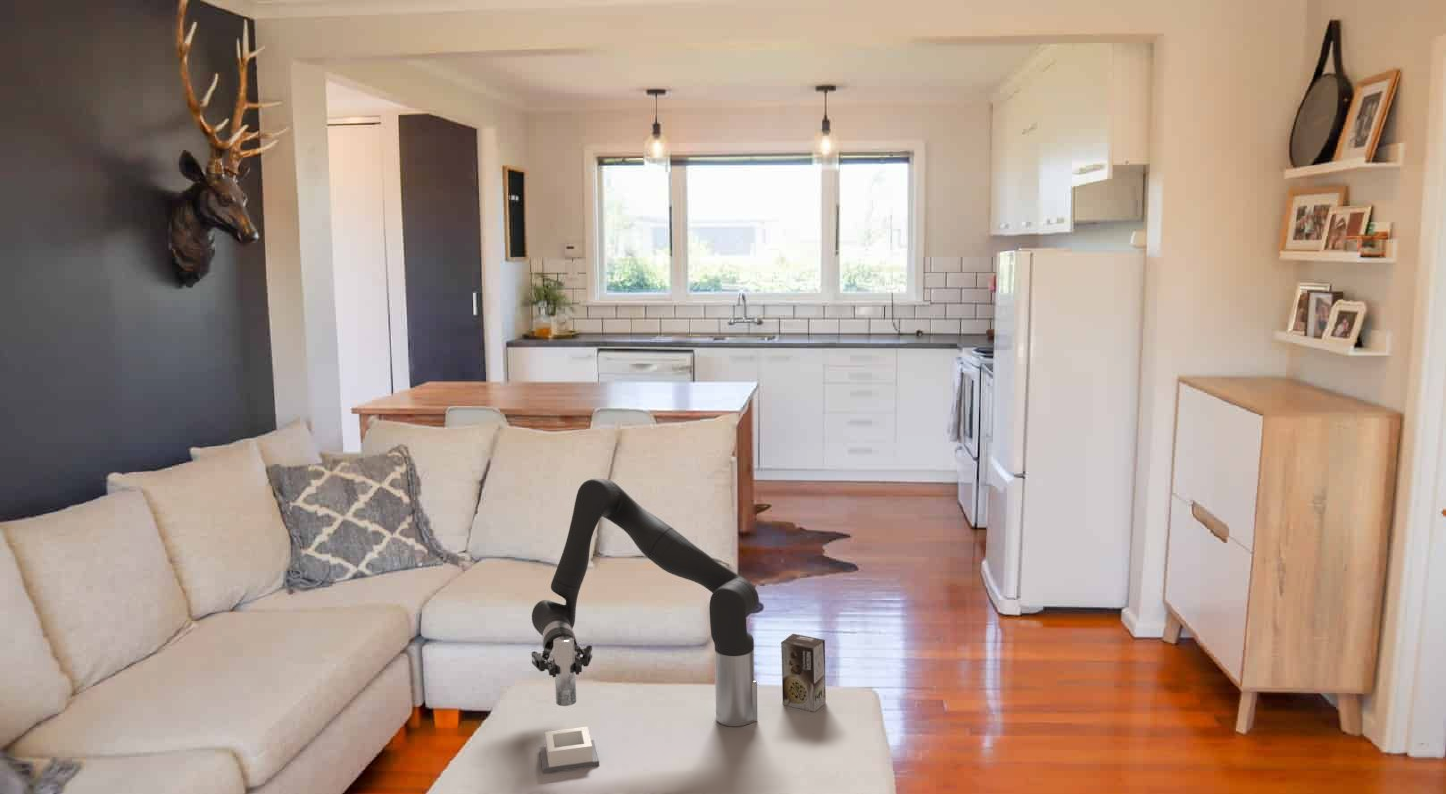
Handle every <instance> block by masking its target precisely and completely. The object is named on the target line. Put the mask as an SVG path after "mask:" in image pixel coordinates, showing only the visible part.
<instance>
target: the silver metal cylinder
mask: <svg viewBox="0 0 1446 794" xmlns="http://www.w3.org/2000/svg"><path fill="white" fill-rule="evenodd" d="M553 644H554V663H555V668H556V677H554V684H555V686H554V687H555V689H554V690H555V703H556V705H558V706H561V707H568V706H572V705H574V704H576V702H577V686H576V685H577V682H576V673H575V653H574V639H573V638H572V637H567V636H565V637H558V638H556V639H554V641H553Z"/></svg>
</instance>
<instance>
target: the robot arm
mask: <svg viewBox="0 0 1446 794" xmlns="http://www.w3.org/2000/svg"><path fill="white" fill-rule="evenodd" d="M601 517H602V518H605V519H606V520H608V521H610V522H612V523H613V524H614V525H616V526H617V527H619V528H620V529H622V530H623V531H625V533H626V534H627V536H629V538H631V540H632V541H633V543H634V544H635V546H636V547H637V549H639V551H640V552H641V553H642V554H643V555H644V556H645V557H646V558H647V559H648V560H650V562H651V561H652V563H654V564H655V565H657V566H658V567H659V568H660V569H662V570H663V571H665V572H666V573H669V574H671V575H673V576H676V577H679V578H681V579H685V580H688V581H691V582H694V583H696V584H699V585H701V586H702V587H704V588H705V589H707V591H709V592H711V593H712V594H711V596H710V598H709V624H710V634H711V635H710V636H711V639H712V641H713V645H714V671H715V672H714V673H715V674H714V675H715V679H714V681H715V682H714V683H715V685H714V686H715V717H716V721H717V722H718V723H719V724H721V725H724V726H727V727H742V726H747V725H749V724H752V723H753V722H758V720H759V719H758V683H757V680H756V679H755V643H754V642H755V641H754V637H753V635H752V634H751V633H749V632H748V629H747V628H748V627H747V617H749V616H750V615H751V614H752V613H753V612H754V611H755V610H756V609H757V608H758V605H759V601H760V598H759V594H758V593H759V592H757V589H756V587H755V586H754V585H753V584H752V583H751V581H749V580H748V579H746V578H745V577H743V576H741V575H739V574H738V573H736V572H734V571H733V570H731V569H730V568H728V567H726V566H724V565H722V564H721V563H719V562H718V561H717V560H715V559H714V558H713V557H711V556H710V555H708V554H707V553H706V552H704V551H703V550H702V549H701V548H699V546H696V545H695V544H694V543H692V542H691V541H690V540H688V539H687V538H686V537H685V536H684V535H682V534H681V533H680V532H679V531H677V530H676V529H674V528H673V527H672V526H670V525H669V524H667V523H666V522H665V521H663V520H662V519H660V518H658V517H657V516H656V515H654V514H653V513H651V512H650V511H648V510H646V509H645V508H643V507H642V506H641V505H640V504H638V503H637V502H636V501H635V500H634V499H633V498H632V497H631V496H630V495H629V494H628V493H626V491H625V490H624V489H622V488H621V487H620V486H619V485H618V484H617V483H616V482H614V481H612V480H610V479H605V478H591V479H588V480H586V481H583V483H582V484H581V485H580V487H579V488H578V490H577V494H576V497H575V501H574V505H573V512H572V516H571V522H570V524H569V530H568V533H567V537H566V541H565V544H564V548H563V551H562V553H561V555H560V556H561V557H560V559H559V562H558V565H557V567H556V570H555V573H554V574H553V575H554V576H553V578H552V581H551V584H550V589H551V591H552V592H553V593H555V594H556V595H558V596H560V597H562V598H563V599H564V600H565V604H562V603H558V602H555V601H551V600H549V599H544V600H543V599H542V600H540V601H538V602H537V603H536V604H535V605H534V607H533V608H532V612H531V622H532V626H533V627H534V630H536V631H537V633H538V634H540V635H541V636H542V639H541V640H542V642H541V643H542V649H543V651H542V652H537V651H535V650H534V651H531V664H532V665H533V666H534V667H535V668H536V669H537V670H538V671H539V672H544V671H546V670H547V671H548V675H549V676H552V678H555V677H556V668H555V663H554V644H553V641H554V639H556V638H558V637H565V636H567V637H572V638H573V639H574V653H575V676H578V675H580V673H582V672H583V667H586V668H587V667H588V666H589V665H590V664H591V661H592V658H593V645H587V646H586V647H583V648H581V647H580V646H579V645H578V642H577V638H576V636H575V632H574V630H573V628H574V627H575V623H576V614H577V613H576V611H577V610H576V609H577V601H578V597H579V596H578V595H579V593H580V590H581V586H582V584H583V582H584V578H585V577H586V574H587V573H586V572H587V570H588V567H589V560H590V551H591V542H592V538H593V534H594V531H595V529H596V527H597V525H598V524H599V522H600V519H601Z"/></svg>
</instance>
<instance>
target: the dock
mask: <svg viewBox="0 0 1446 794" xmlns="http://www.w3.org/2000/svg"><path fill="white" fill-rule="evenodd" d="M544 734H545V735H544V738H545V741H544V742H545V745H544V746H540V747H539V752H540V753H539V754H540V761H541V767H542V773H543V774H547V773H552V772H553V773H554V772H560V771H561V772H562V771H568V770H576V769H584V768H592V767H597V766H600V759H599V756H598V752H597V748H596V743H595V740H594V739H591V735H590V732H589V728H588V726H582V727H574V728H566V729H559V730H552V731H551V730H550V731H545V732H544Z"/></svg>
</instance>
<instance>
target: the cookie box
mask: <svg viewBox="0 0 1446 794" xmlns="http://www.w3.org/2000/svg"><path fill="white" fill-rule="evenodd" d="M780 644H781V645H780V647H781V650H780V651H781V680H782V682H781V683H782V691H781V692H782V694H781V695H782V705H783V706H788V707H791V708H792V707H793V708H797V709H801V710H806V711H810V712H812V713H813V712H817V711H818V710H819V709H820V708H821V707H823V706H824V705H825V704H826V702H827V701H826V695H827V694H826V639H822V638H819V637H812V636H807V635H802V634H796V633H792V634H790V635H789V636H788V637H787V638H786V639H784V640H783V641H781V642H780Z"/></svg>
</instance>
